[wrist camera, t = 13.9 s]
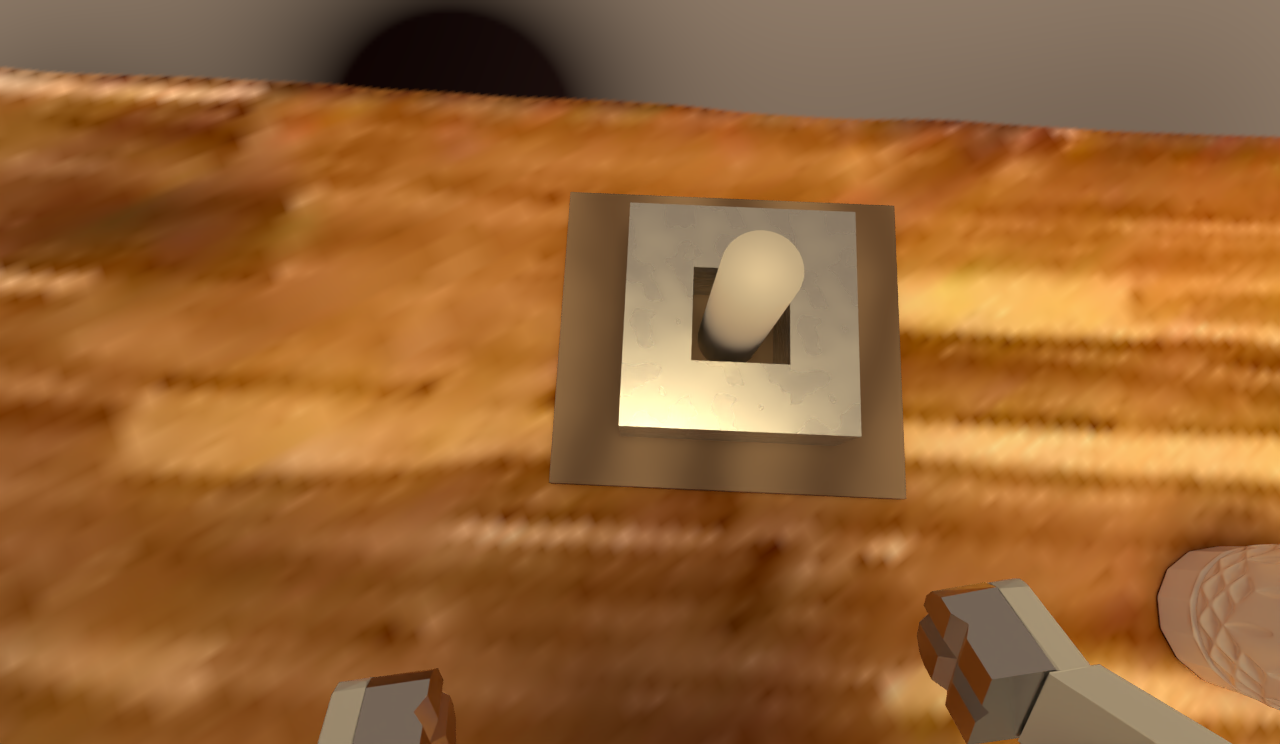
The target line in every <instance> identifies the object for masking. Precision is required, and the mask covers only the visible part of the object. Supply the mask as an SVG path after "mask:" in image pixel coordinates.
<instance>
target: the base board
mask: <svg viewBox="0 0 1280 744" xmlns="http://www.w3.org/2000/svg"><path fill="white" fill-rule="evenodd" d="M630 202H632V203H655V204H679V205H702V206H725V207H749V208H772V209H796V210H819V211H843V212H855V215H856V252H857V288H858V325H859V362H860V398H861V435H862V437H859V438H857V439H854V440H851V441H848V442H845V443H843V444H840V445H837V446H825V445H803V444H781V443H759V442H737V441H715V440H693V439H671V438H649V437H627V436H621V435H620V430H619V426H618V425H619V406H620V387H621V368H622V350H623V331H624V312H625V293H626V274H627V255H628V236H629V217H630ZM709 296H710V295H693V312H692V345H691V360H698V361H708V360H707V359H706V358H705V357H704V356H703V354H702V353H701V351H700V349H699V346H698V339H697V337H698V331H699V327H700V324H701V321H702V318H703V315H704V312H705V309H706V306H707V302H708V299H709ZM746 363H765V364H773V328H772V329H771V331H770V332H769V334H768V335H767V336H766V338H765V339H764V341H763V342H762V343H761V345H760V346H759V348H758V349H757V350H756V352H755V353H754V355H753V356H752V357H751V359H750V360H749V361H747V362H746ZM549 483H555V484H577V485H598V486H620V487H641V488H663V489H685V490H706V491H728V492H750V493H771V494H793V495H814V496H836V497H858V498H879V499H906V480H905V456H904V432H903V407H902V383H901V359H900V335H899V310H898V286H897V262H896V238H895V213H894V206H886V205H862V204H839V203H815V202H792V201H768V200H745V199H721V198H698V197H674V196H651V195H627V194H604V193H580V192H571V195H570V208H569V222H568V235H567V249H566V262H565V276H564V289H563V302H562V316H561V329H560V343H559V356H558V370H557V383H556V396H555V410H554V423H553V437H552V450H551V464H550V477H549Z"/></svg>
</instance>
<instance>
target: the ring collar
mask: <svg viewBox="0 0 1280 744" xmlns="http://www.w3.org/2000/svg"><path fill="white" fill-rule="evenodd" d="M756 230H765V231H771V232H775V233H777V234H780V235H782V236H784V237H785V238H787V239H788V240H789V241H790V242H792V243H793V245H794V246H795V247H796V248H797V250H798V251H799V253H800V255H801V257H802V260H803V264H804V279H803V283H802V286H801V288H800V290H799V291H798V293H797V294H796V296H795V297H794V298H793V300H792V301H791V303H790V304H789V305H788V307H787V308H786V310H785V311H784V312H783V314H782V315H781V317H780V318H779V320H778V321H777V322H776V324H775V325H774V327H773V364H765V363H743V362H720V361H698V360H691V345H692V312H693V295H710V293H711V290H712V287H713V284H714V281H715V278H716V274H717V271H718V268H719V265H720V262H721V259H722V256H723V253H724V251H725V250H726V248H727V247H728V245H729V244H730V243H731V242H732V241H733V240H734V239H735V238H737V237H738V236H740V235H742V234H744V233H747V232H750V231H756ZM618 426H619V430H620V435H621V436H627V437H649V438H671V439H693V440H715V441H737V442H759V443H781V444H803V445H825V446H837V445H840V444H843V443H845V442H848V441H851V440H854V439H857V438H859V437H862V435H861V398H860V362H859V325H858V288H857V252H856V215H855V212H843V211H819V210H796V209H772V208H749V207H725V206H702V205H679V204H655V203H632V202H630V217H629V236H628V255H627V274H626V293H625V312H624V331H623V350H622V368H621V387H620V406H619V425H618Z"/></svg>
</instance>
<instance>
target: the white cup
mask: <svg viewBox="0 0 1280 744" xmlns="http://www.w3.org/2000/svg"><path fill="white" fill-rule="evenodd" d="M1157 599H1158V609H1159V618H1160V627H1161V630H1162V632H1163V634H1164V635H1165V637H1166V639H1167V641H1168V643H1169V645H1170V646H1171V648H1172V650H1173V652H1174V654H1175V656H1176V657H1177V659H1179V660H1180V661H1181V662H1182V663H1183V664H1185V665H1186V666H1187V667H1188V668H1189V669H1190V670H1192V671H1193V672H1194V673H1195V674H1196V675H1198V676H1199V677H1200V678H1201V679H1202V680H1204V681H1206V682H1209V683H1211V684H1214V685H1217V686H1220V687H1223V688H1226V689H1229V690H1232V691H1235V692H1238V693H1241V694H1244V695H1246V696H1248V697H1251V698H1254V699H1256V700H1258V701H1260V702H1262V703H1264V704H1266V705H1267V706H1269V707H1272V708H1275V709H1278V710H1280V544H1262V545H1250V546H1217V547H1211V548H1206V549H1200V550H1194V551H1189V552H1188V553H1186V554H1185V555H1184V556H1183V557H1182V558H1180V559H1179V560H1178V561H1177V562H1176V563H1174V564H1173V565H1172V566H1171V567H1170V568H1168V569H1167V572H1166V574H1165V577H1164V580H1163V582H1162V585H1161V588H1160V591H1159V593H1158V596H1157Z"/></svg>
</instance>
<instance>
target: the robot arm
mask: <svg viewBox="0 0 1280 744" xmlns="http://www.w3.org/2000/svg"><path fill="white" fill-rule="evenodd" d="M924 607H925V609H926V610H927V612H928V615H927V616H926V617H925V618H924V619H923V620H921V621H920V622H919V627H918V632H917V640H918V647H919V652H920V655H921V658H922V660H923V663H924V666H925V668H926V669H927V671H928V673H929V675H930V677H931V679H932V680H933V681H935V682H936V683H938V684H939V685H940V686H942V687H943V688H945V689H946V690H947V697H946V704H945V705H946V707H947V709H948V711H949V713H950V715H951V716H952V718H953V720H954V722H955V724H956V726H957V728H958V729H959V731H960V733H961V735H962V737H963V739H964V740H965V742H966V744H978V743H986V742H993V741H1000V740H1007V739H1014V738H1019V740H1018V741H1019V742H1020V743H1021V744H1232V743H1230V742H1228V741H1227V740H1225V739H1223V738H1222V737H1220V736H1218V735H1217V734H1215V733H1213V732H1212V731H1210V730H1208V729H1207V728H1205V727H1203V726H1202V725H1200V724H1198V723H1197V722H1195V721H1193V720H1192V719H1190V718H1188V717H1187V716H1185V715H1183V714H1182V713H1180V712H1178V711H1177V710H1175V709H1173V708H1172V707H1170V706H1168V705H1167V704H1165V703H1163V702H1162V701H1160V700H1158V699H1157V698H1155V697H1153V696H1151V695H1150V694H1148V693H1146V692H1145V691H1143V690H1141V689H1140V688H1138V687H1136V686H1135V685H1133V684H1131V683H1130V682H1128V681H1126V680H1125V679H1123V678H1121V677H1120V676H1118V675H1116V674H1115V673H1113V672H1111V671H1110V670H1108V669H1106V668H1105V667H1103V666H1101V665H1100V664H1097V665H1090V664H1089V663H1088V662H1087V660H1086V659H1085V658H1084V656H1083V655H1082V654H1081V653H1080V651H1079V650H1078V649H1077V647H1076V646H1075V645H1074V644H1073V642H1072V641H1071V640H1070V639H1069V637H1068V636H1067V635H1066V633H1065V632H1064V631H1063V630H1062V628H1061V627H1060V626H1059V624H1058V623H1057V622H1056V621H1055V619H1054V618H1053V617H1052V615H1051V614H1050V613H1049V612H1048V610H1047V609H1046V608H1045V606H1044V605H1043V604H1042V603H1041V601H1040V600H1039V599H1038V597H1037V596H1036V595H1035V594H1034V592H1033V591H1032V590H1031V588H1030V587H1029V586H1028V585H1027V583H1025V582H1024V581H1022V580H1021V579H1015V578H1012V579H1007V580H1001V581H995V582H989V583H986V582H984V583H978V584H972V585H966V586H960V587H955V588H949V589H943V590H937V591H932V592H930V593H929V594H928V595H927V596H926V599H925V603H924ZM442 687H443V678H442V676H441V674H440V672H439V669H438V668H436V669H429V670H422V671H415V672H408V673H401V674H394V675H387V676H380V677H370V678H364V679H357V680H351V681H345V682H339V683H338V685H337V687H336V688H335V690H334V692H333V693H332V695H331V699H330V702H329V706H328V709H327V712H326V716H325V719H324V723H323V726H322V730H321V733H320V737H319V740H318V744H456V717H455V711H454V706H453V703H452V700H451V698H450V696H449V695H447V694H445V693H443V692H442Z"/></svg>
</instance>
